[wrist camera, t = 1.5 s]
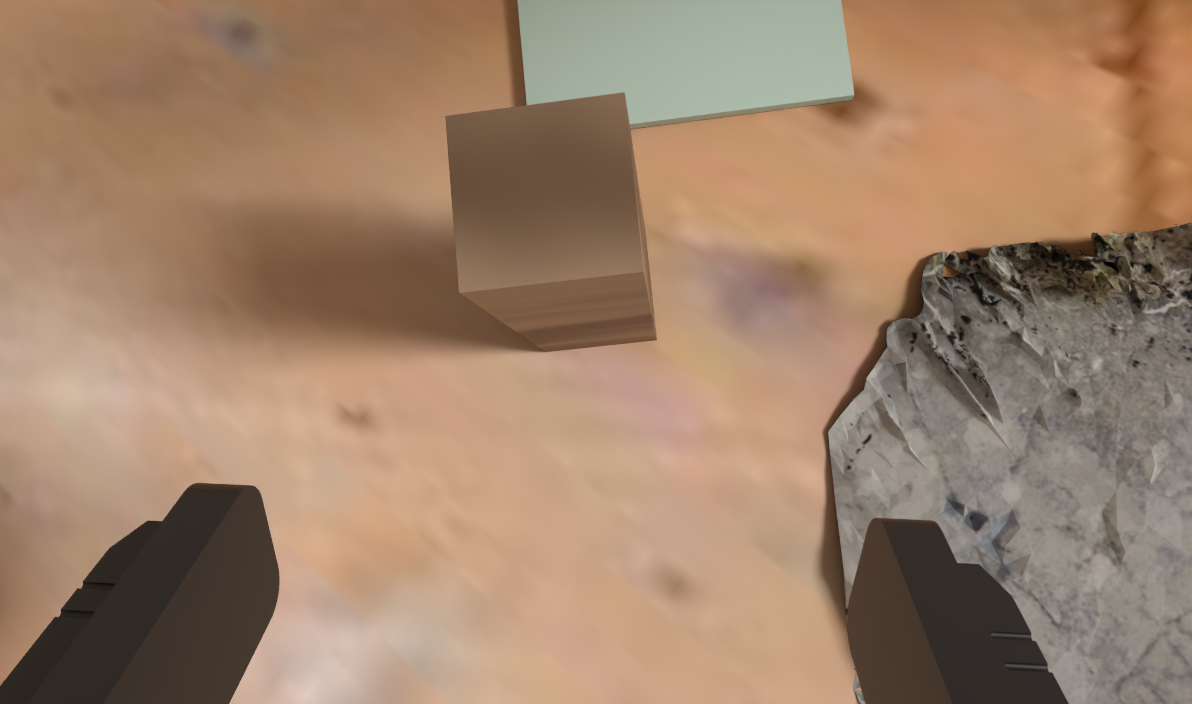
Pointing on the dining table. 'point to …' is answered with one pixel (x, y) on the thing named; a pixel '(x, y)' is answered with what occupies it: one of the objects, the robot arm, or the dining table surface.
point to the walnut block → (552, 221)
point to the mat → (686, 55)
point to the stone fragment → (1047, 449)
